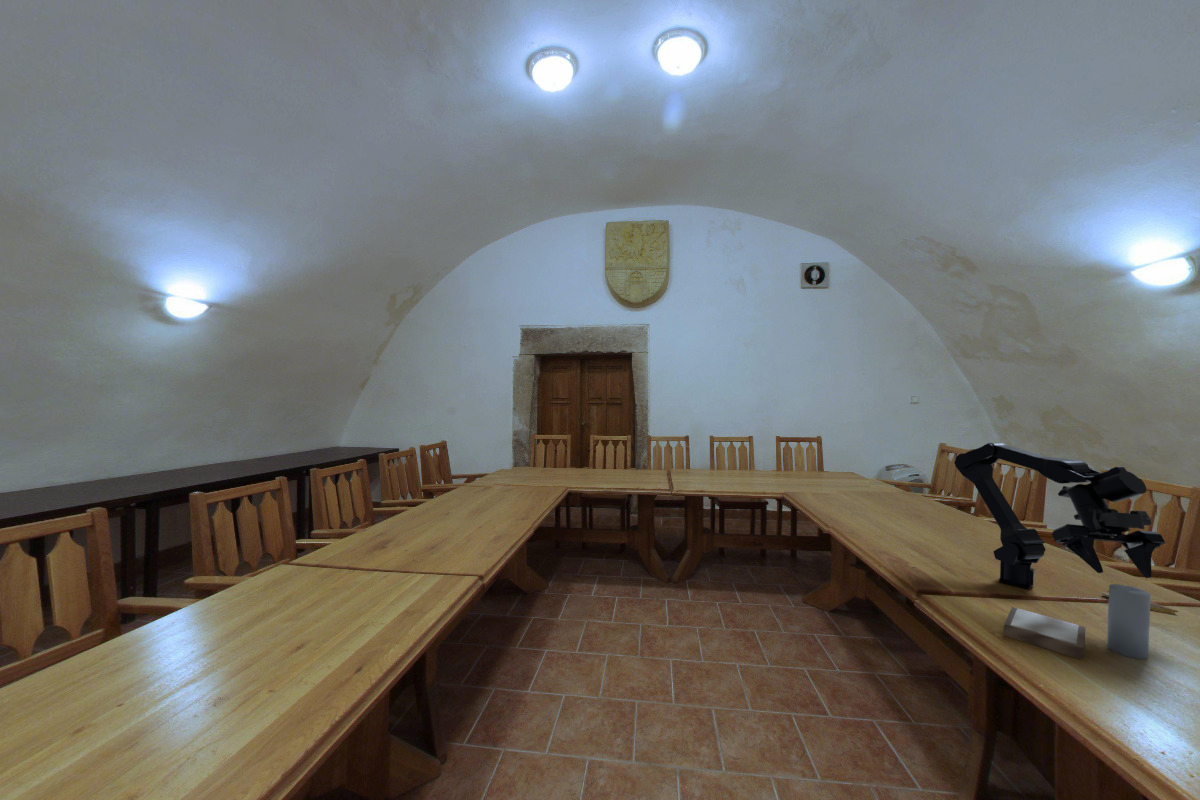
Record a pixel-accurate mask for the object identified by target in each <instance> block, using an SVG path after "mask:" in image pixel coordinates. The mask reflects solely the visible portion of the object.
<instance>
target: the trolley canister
mask: <svg viewBox="0 0 1200 800" xmlns="http://www.w3.org/2000/svg"><path fill="white" fill-rule="evenodd" d="M1108 591H1109V598H1108V607H1107V608H1108V610H1107V632H1106V633H1107V635H1106V638H1107V639H1106V646H1107V648H1108V649H1110V651H1112V652H1115V653H1117V654H1119V655H1122V656H1125V657H1128V658H1132V659H1136V660H1147V659H1149V647H1150V646H1149V645H1150V644H1149V643H1150V622H1151V621H1150V619H1151V610H1150V601H1151V596H1152V595H1151V593H1149V592H1148V591H1146V590H1144V589H1141V588H1137V587H1133V586H1130V585H1124V584H1117V583H1111V584H1109V585H1108Z"/></svg>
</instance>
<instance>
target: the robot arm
mask: <svg viewBox="0 0 1200 800" xmlns="http://www.w3.org/2000/svg"><path fill="white" fill-rule="evenodd" d="M999 460H1002V461H1006V462H1009V463H1011V464H1014V465H1018V466H1021V467H1024V468H1027V469H1030V470H1034V471H1036V472H1038V473H1039V474H1040V475H1042V476H1043V477H1045V478H1046V479H1048V480H1051V481H1052V482H1053V483H1054V482H1055V483H1057V484H1060V485H1061V484H1062V485H1063V484H1075V485H1072V486H1067V485H1066V486H1065V485H1064V486H1062V488H1061V489H1060V490H1059V491H1058V493H1057V495H1058V496H1059V497H1062V498H1063V497H1064V498H1069V499H1070V500H1071V503H1072V505H1073V507H1074V509H1075V511H1076V514H1074V515H1073V517H1074V520H1077V521H1080V522H1081V524H1072V523H1067V524H1065V525H1062V526H1059V527H1058V528H1055V529H1053V531H1052V538H1053V540H1054V542H1055V543H1059V544H1061V545H1062V546H1063V547H1065V548H1067V549H1068V550H1070V551H1071V552H1073V553H1074V554H1075V555H1077V557H1079V558H1080V559H1082V560H1083V562H1085V563H1086V564H1087V565H1088V566H1089V567H1090V568H1092V570H1094V571H1095V572H1096V573H1098V574H1102V573H1104V570H1103V567H1102V563H1101V561H1100V559H1099V557H1098V554H1097V551H1096V550H1095V548H1094V546H1095V545H1094V544H1095V541H1100V542H1110V543H1111V542H1112V543H1113V542H1114V543H1121V545H1122V546H1123V547H1124V548H1126V549H1124V550H1123V551H1124V552H1125V555H1127V557H1128V558H1129V559H1130V561H1131V562H1132V564H1134V566H1135V567H1136V569H1138V571H1139V572H1140V574H1141V575H1142V576H1143V577H1144V578H1146V579H1149V578H1152V556H1153V552H1154V551H1155V550H1157V549H1159V548H1160V547H1161V546H1164V545H1166V541H1165V539H1164V537H1163V536H1162V534H1161V533H1158V532H1156V531H1148V530H1145V527H1146V526H1147V527H1148V526H1151V524H1152V521H1151V520H1152V519H1151V517H1150V516H1149V514H1148V512H1147V511H1145V510H1144V511H1143V510H1130V511H1129V512H1119V511H1118V510H1117V509H1116V508H1115V509H1114V508H1110V506H1109V504H1108V502H1107V501H1109V502H1112V503H1117V502H1120V501H1124V500H1127V499H1131V498H1132V497H1136V496H1140V495H1144V494H1145V493H1147V485H1146V484H1145V482H1144V480H1142V478H1139V477H1138V476H1137V475H1135V474H1134V473H1132V472H1130V471H1128V470H1127V469H1126V468H1125V467H1124V466H1115V467H1112V468H1109V470H1106V471H1104V472H1101V471H1098V470H1096V469H1093V468H1091V467H1089V465H1088V463H1086V462H1084V461H1083V460H1077V459H1069V458H1063V457H1062V458H1060V457H1050V456H1046V455H1043V454H1038V453H1035V452H1031V451H1027V450H1024V449H1020V448H1017V447H1013V446H1010V445H1006V444H1005V443H1003V442H988V443H986V444H984V445H981V446H980V447H978V448H975V449H972V450H969V451H967V452H965V453H964V452H963V453H958V454H957V455H956V457H955V459H954V461H953V463H954V466H955V468H956V470H957V471H958V472H959V473H960V474H961V476H962V477H964V478H965V479H967V480H968V481H969V482H971V483H972V484H973V485H974V487H975V489H976V490H977V492H978V493H979V495H980V497H981V499H982V500H983V502H984V503H985V505H986V507H987V509H988V510H989V512H990V514H991V515H992V517H993V519H994V520H995V522H996V524H997V526H998V527H999V529H1000V539H999V540H1000V542H1001V544H1002V546H1000V547H997V549H995V550H993V556H994V559H995V560H997V561H1000V564H999V565H1000V566H999V579H998V582H999V583H1001V584H1002V583H1003V584H1006V585H1010V586H1013V587H1017V588H1018V587H1019V588H1022V589H1027V590H1030V589H1031V588H1032V587H1033V586H1034V584H1035V568H1032V567H1033V565H1032V564H1038V562H1039V560H1040V559H1041V558H1043V556H1044V555H1045V553H1046V550H1047V549H1046V546H1045V545H1044V544H1046V542H1045V541H1044V540H1043V539H1042V538H1041V537H1040V534H1039V533H1038V530H1036V528H1028V527H1026V526H1024V524H1023V523H1021V521H1020V520H1019V518H1018V517H1017V515H1016V513H1015V511H1014V510H1013V508H1012V507H1011V505H1010V504H1009V502H1008V501H1007V499H1006V497H1005V495H1004V494H1003V493H1002V491H1001V489H1000V488H999V486H998V483H996V481H995V480H994V477H993V475H994V467H993V464H996V463H997V462H998V461H999ZM1084 483H1087V484H1084ZM1131 529H1139V530H1135V531H1133V532H1130V533H1127V532H1129V531H1131ZM1123 532H1124V533H1123ZM1125 533H1127V534H1125Z"/></svg>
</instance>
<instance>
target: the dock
mask: <svg viewBox="0 0 1200 800" xmlns="http://www.w3.org/2000/svg"><path fill="white" fill-rule="evenodd" d="M1003 636H1005V637H1008V638H1011V639H1015V640H1018V641H1021V642H1024V643H1027V644H1031V645H1034V646H1037V647H1040V648H1044V649H1045V650H1050V651H1053V652H1056V653H1059V654H1063V655H1065V654H1066V655H1067V656H1068V657H1072V658H1075V657H1076V659H1078V658H1079V659H1078V660H1081V659H1082V661H1083V660H1084V654H1085V642H1086V626H1083V625H1079V624H1075V623H1072V622H1069V621H1066V620H1065V621H1064V620H1062V619H1058V618H1055V617H1050V616H1047V615H1043V614H1040V613H1036V612H1032V611H1029V610H1025V609H1021V608H1018V607H1014V606H1011V608H1010V610H1009V613H1008V615H1007V617H1006V619H1005V621H1004V624H1003Z"/></svg>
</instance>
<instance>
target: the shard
mask: <svg viewBox="0 0 1200 800" xmlns="http://www.w3.org/2000/svg"><path fill="white" fill-rule="evenodd" d="M1100 594H1101V595H1102V596H1103V597H1105V596H1106V597H1105V598H1108V597H1109V590H1103V591H1101V592H1100ZM1150 611H1154V612H1159V613H1164V614H1170V615H1171V614H1172V615H1175V614H1176V613H1179V611H1178V610H1177V609H1173V608H1170V607H1167V606H1164V605H1162V604H1158V603H1156V602H1154V601H1151V600H1150Z"/></svg>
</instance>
